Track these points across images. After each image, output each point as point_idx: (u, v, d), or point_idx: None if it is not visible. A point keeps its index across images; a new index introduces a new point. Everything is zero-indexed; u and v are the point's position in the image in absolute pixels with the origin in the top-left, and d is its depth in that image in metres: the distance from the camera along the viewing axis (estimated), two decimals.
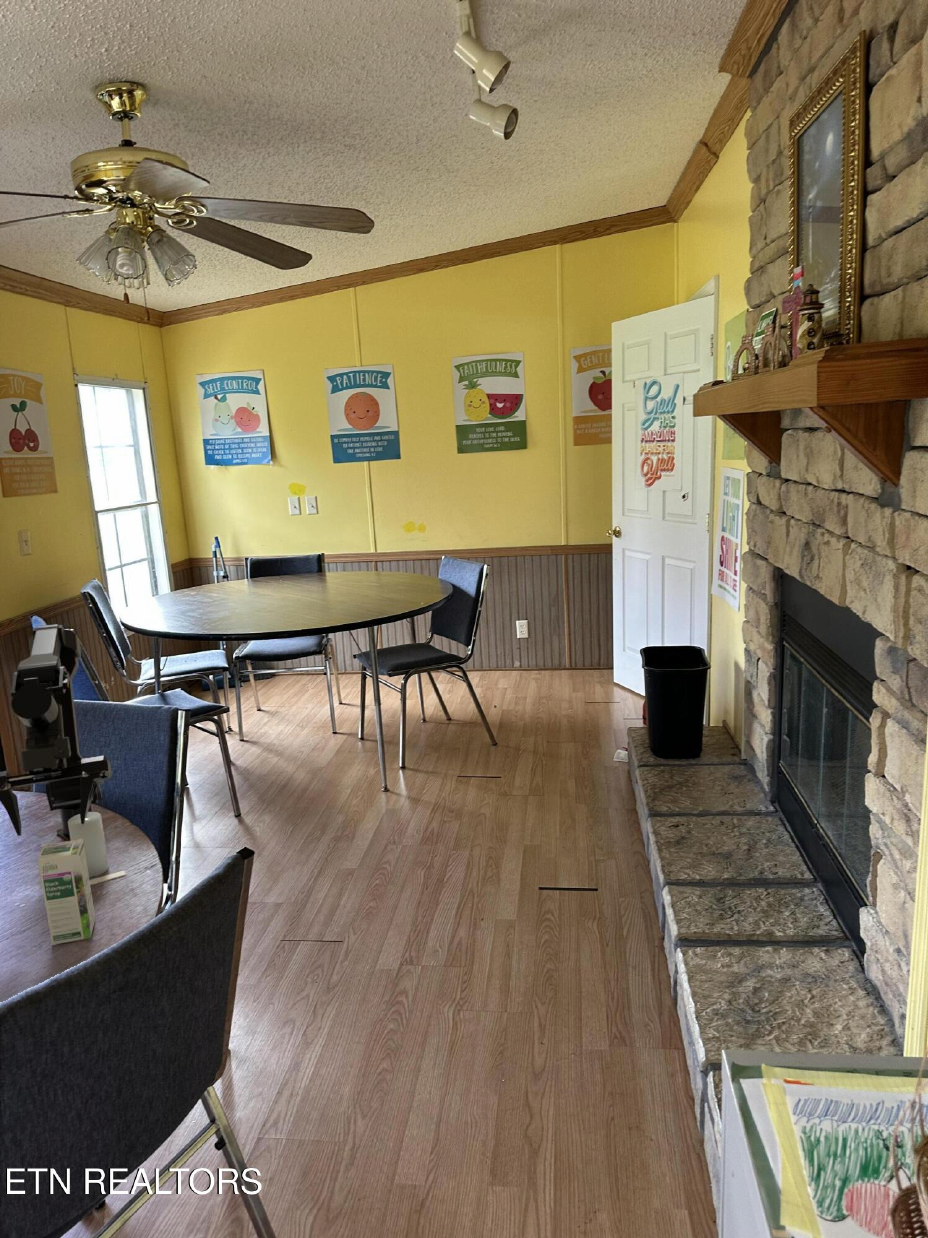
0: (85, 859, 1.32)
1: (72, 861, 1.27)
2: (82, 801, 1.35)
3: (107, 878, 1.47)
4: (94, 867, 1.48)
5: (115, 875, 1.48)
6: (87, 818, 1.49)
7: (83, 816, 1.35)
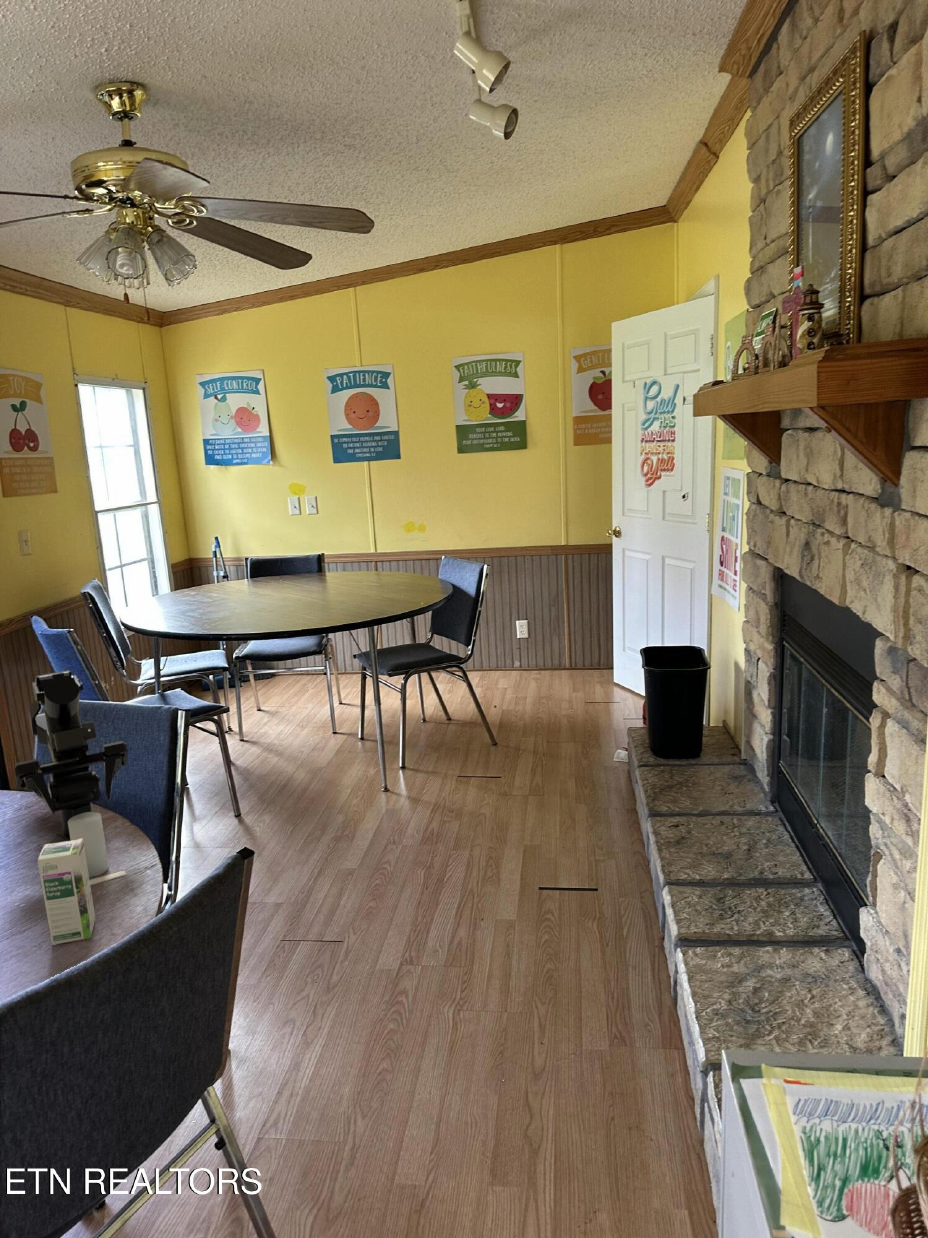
0: (85, 859, 1.32)
1: (71, 861, 1.27)
2: (107, 780, 1.53)
3: (107, 878, 1.47)
4: (94, 867, 1.48)
5: (115, 875, 1.48)
6: (87, 818, 1.49)
7: (109, 792, 1.53)
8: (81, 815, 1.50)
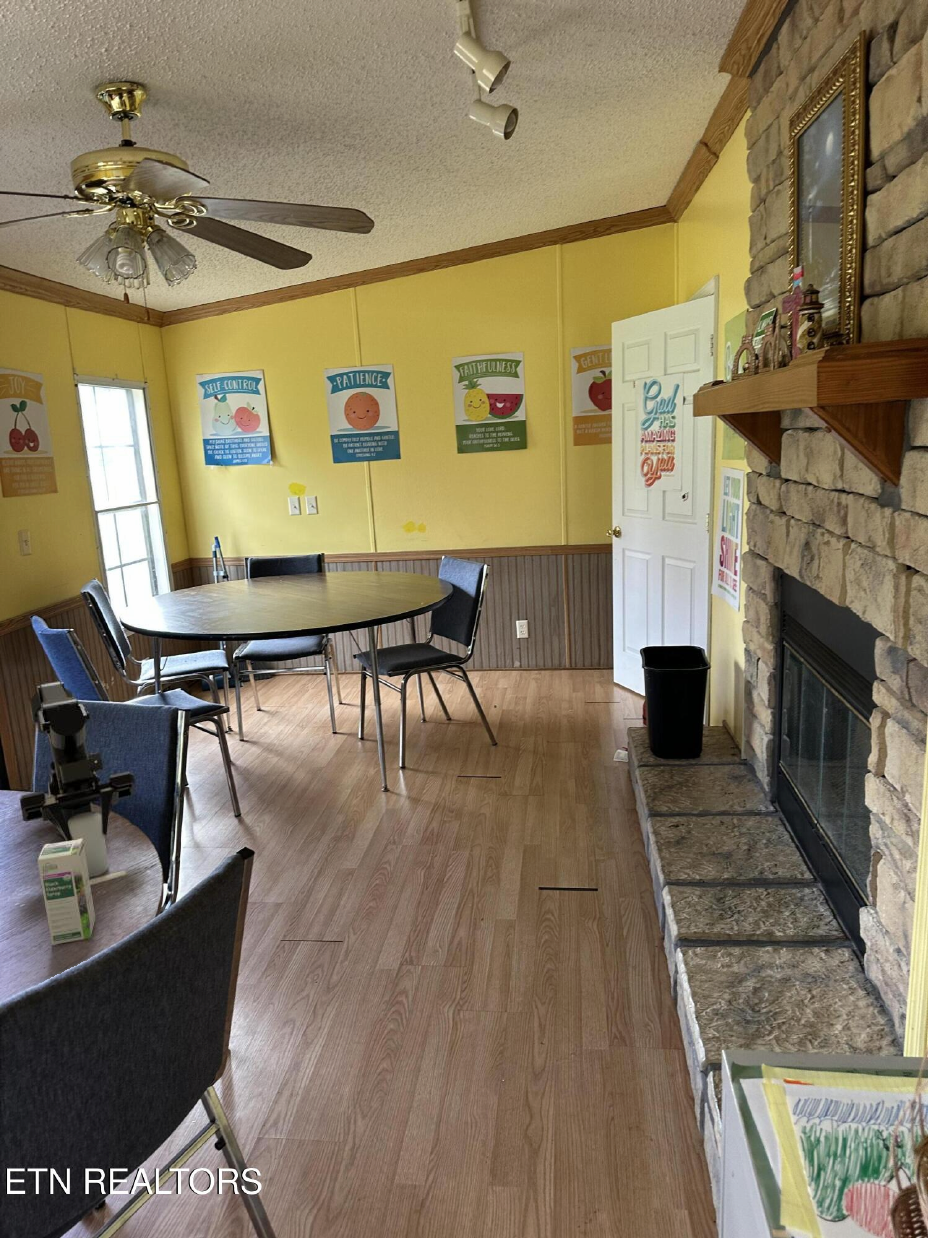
0: (85, 859, 1.32)
1: (71, 861, 1.27)
2: (104, 814, 1.50)
3: (107, 878, 1.47)
4: (94, 867, 1.48)
5: (115, 875, 1.48)
6: (87, 818, 1.49)
7: (106, 827, 1.50)
8: (81, 815, 1.50)
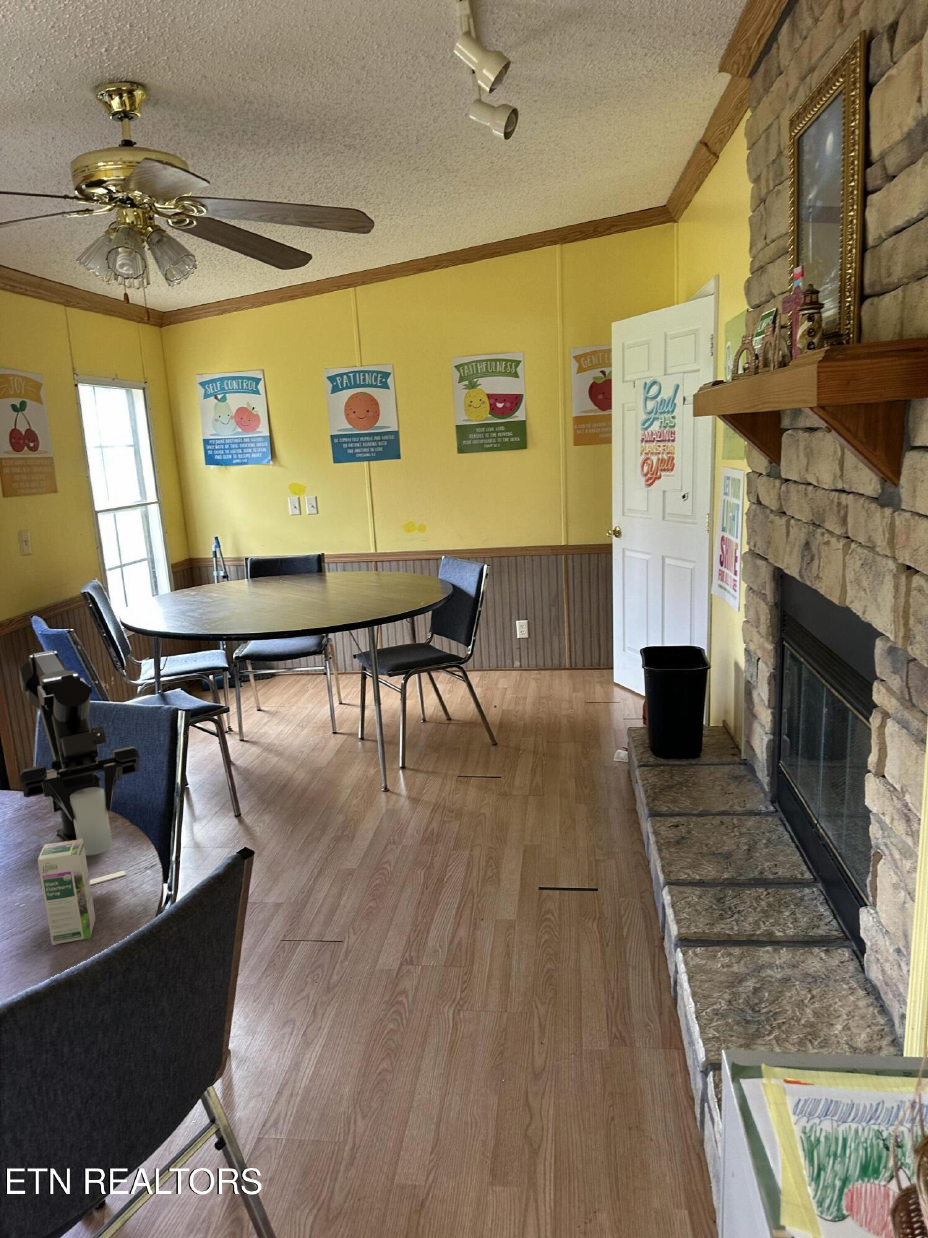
0: (85, 859, 1.32)
1: (71, 861, 1.27)
2: (107, 789, 1.45)
3: (107, 878, 1.47)
4: (97, 844, 1.43)
5: (115, 875, 1.48)
6: (90, 793, 1.43)
7: (109, 803, 1.44)
8: (83, 790, 1.45)
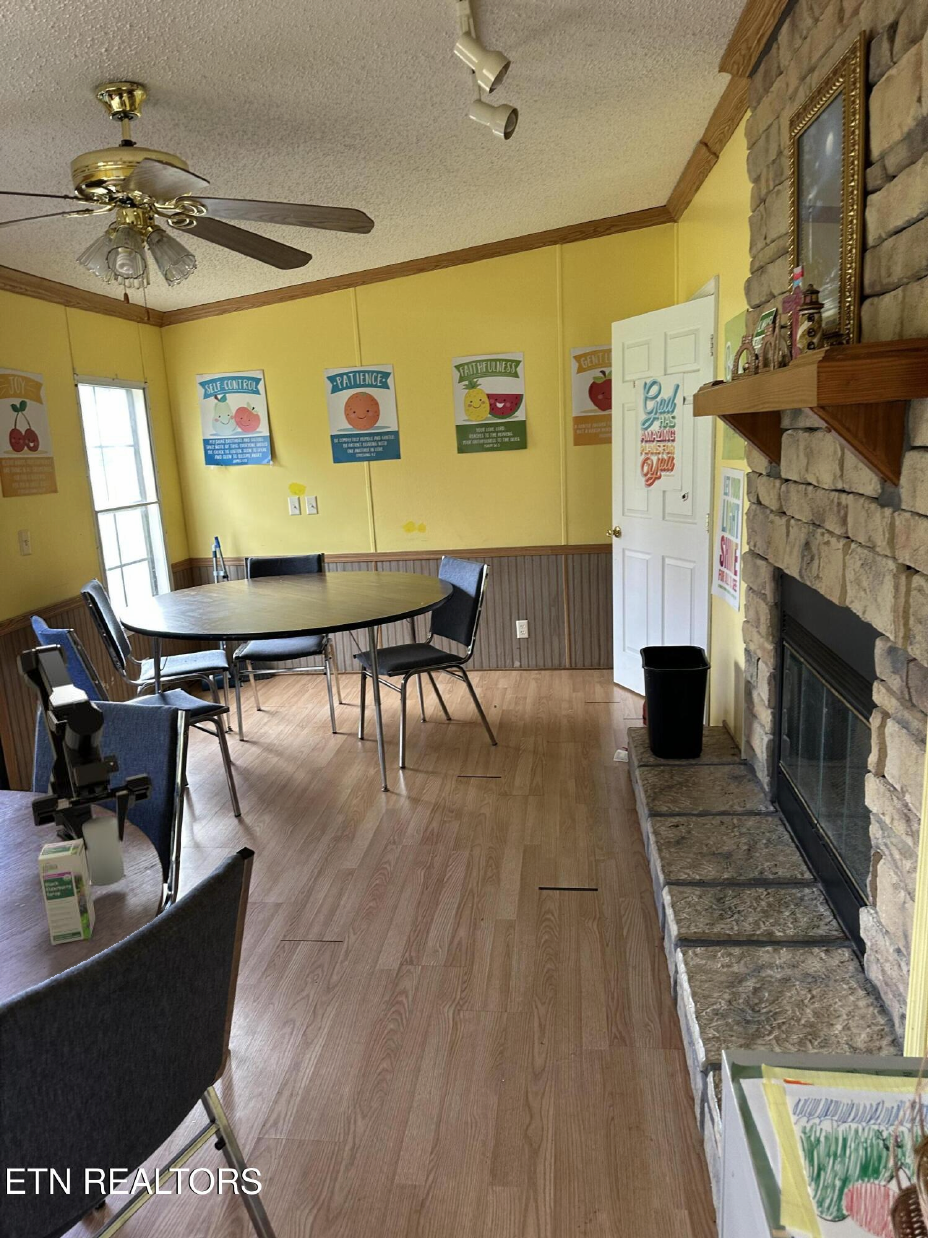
0: (85, 859, 1.32)
1: (71, 861, 1.27)
2: (120, 819, 1.42)
3: None
4: (110, 875, 1.40)
5: None
6: (102, 823, 1.40)
7: (122, 832, 1.41)
8: (95, 819, 1.42)
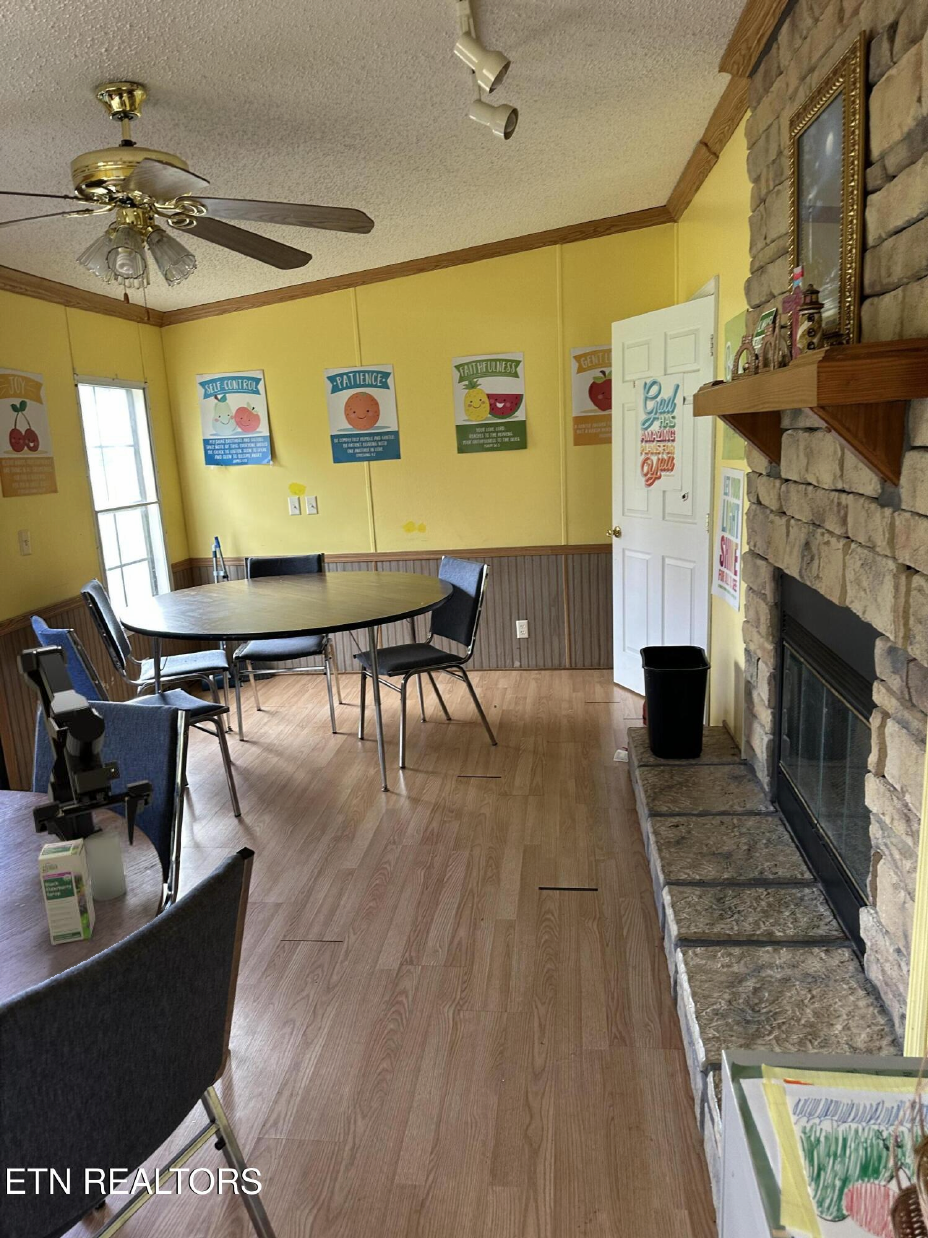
0: (85, 859, 1.32)
1: (71, 861, 1.27)
2: (129, 823, 1.43)
3: None
4: (111, 889, 1.41)
5: None
6: (104, 838, 1.41)
7: (131, 837, 1.42)
8: (97, 834, 1.42)
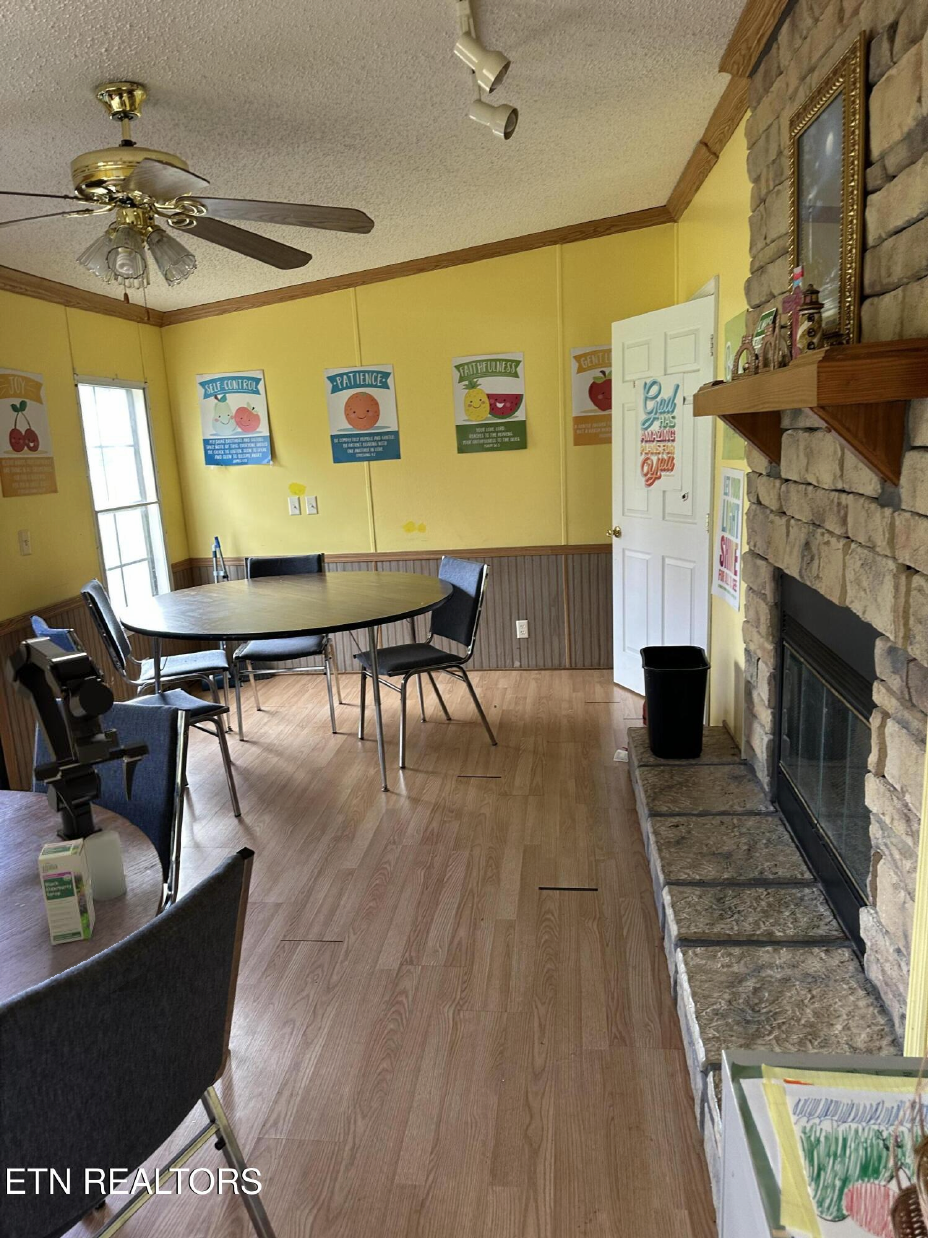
0: (85, 859, 1.32)
1: (72, 860, 1.27)
2: (128, 782, 1.51)
3: None
4: (111, 889, 1.41)
5: None
6: (104, 838, 1.41)
7: (130, 795, 1.51)
8: (97, 834, 1.42)
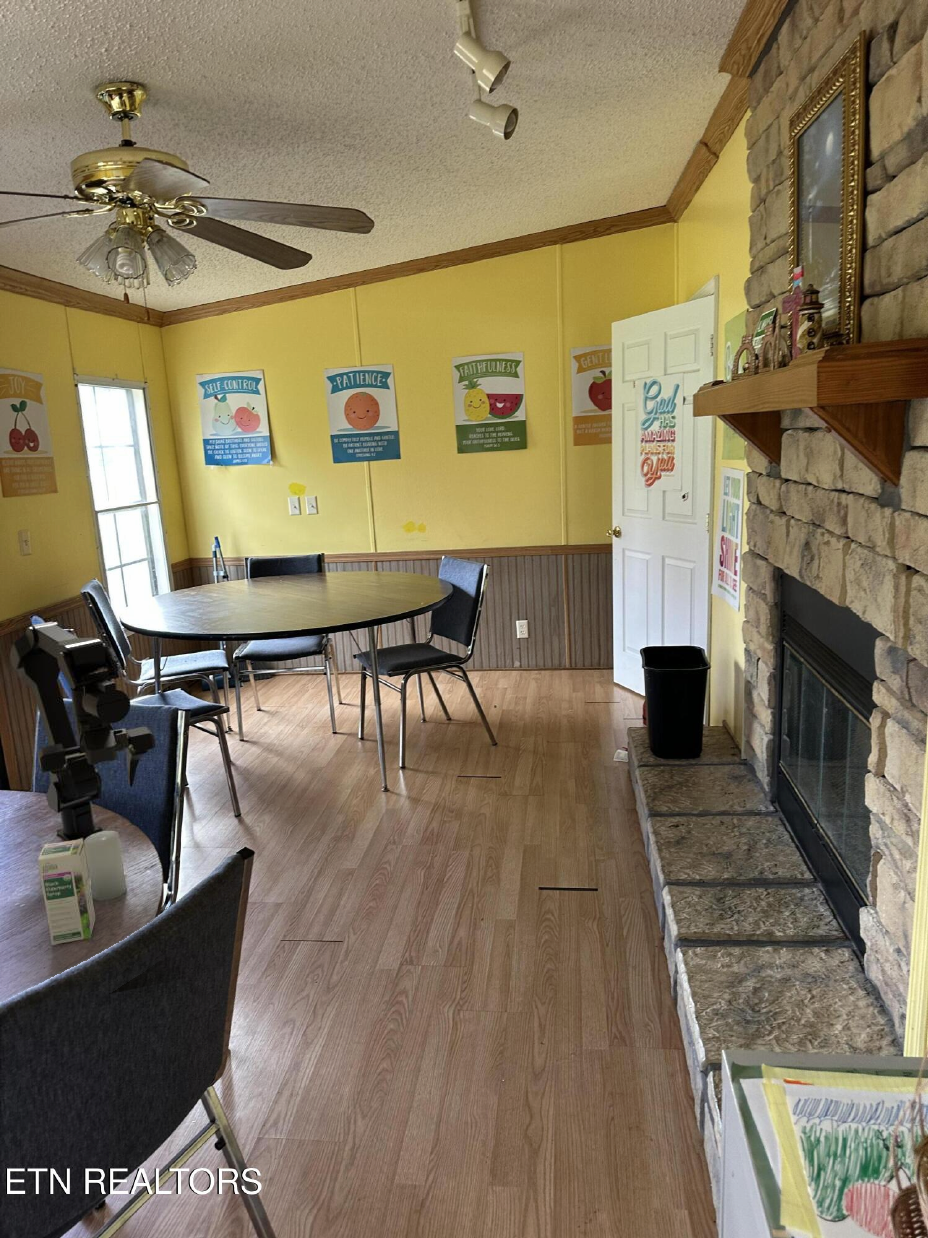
0: (85, 859, 1.32)
1: (72, 861, 1.27)
2: (131, 770, 1.52)
3: None
4: (111, 889, 1.41)
5: None
6: (104, 838, 1.41)
7: (132, 782, 1.53)
8: (97, 834, 1.42)
